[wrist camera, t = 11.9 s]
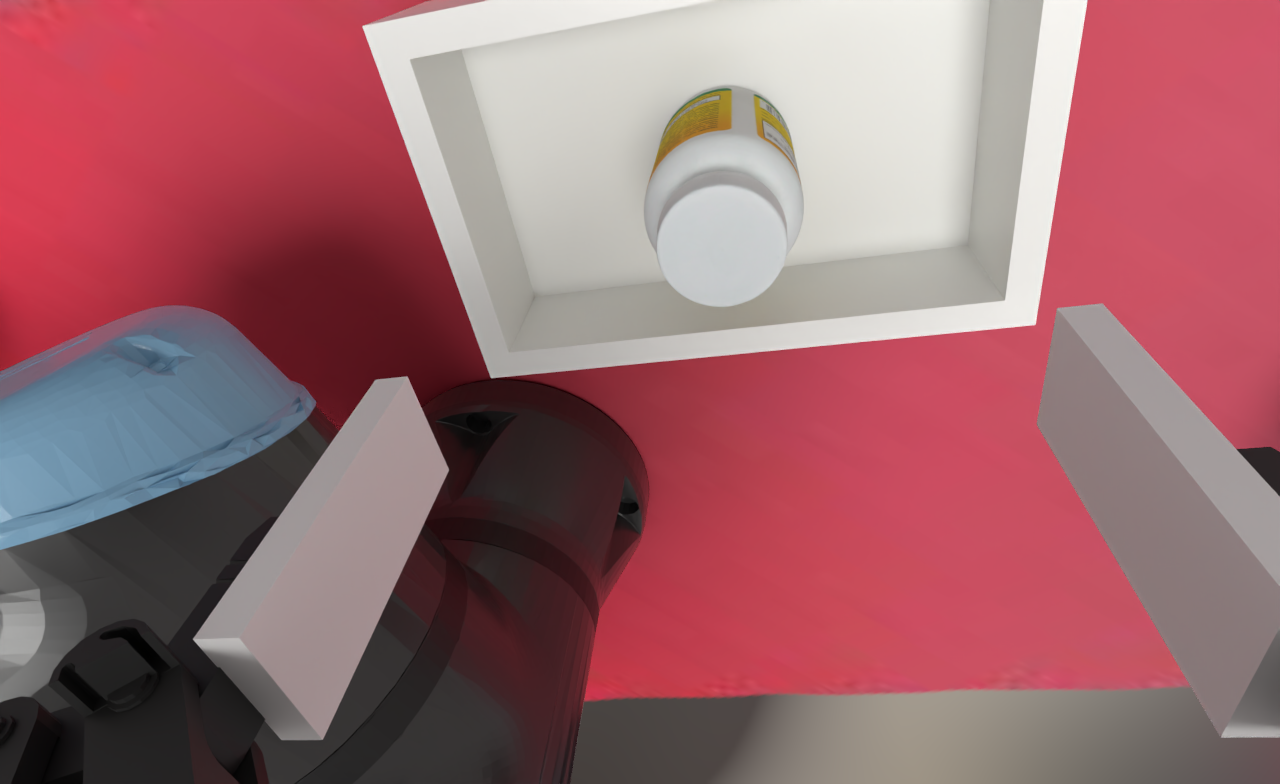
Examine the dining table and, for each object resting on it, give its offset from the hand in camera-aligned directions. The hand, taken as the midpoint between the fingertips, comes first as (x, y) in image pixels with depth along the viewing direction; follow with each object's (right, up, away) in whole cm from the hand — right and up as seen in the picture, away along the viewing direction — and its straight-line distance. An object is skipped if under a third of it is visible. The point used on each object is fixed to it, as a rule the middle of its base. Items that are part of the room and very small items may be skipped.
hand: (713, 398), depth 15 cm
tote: (+2, +11, +15) cm, 19 cm away
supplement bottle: (+2, +10, +14) cm, 18 cm away
